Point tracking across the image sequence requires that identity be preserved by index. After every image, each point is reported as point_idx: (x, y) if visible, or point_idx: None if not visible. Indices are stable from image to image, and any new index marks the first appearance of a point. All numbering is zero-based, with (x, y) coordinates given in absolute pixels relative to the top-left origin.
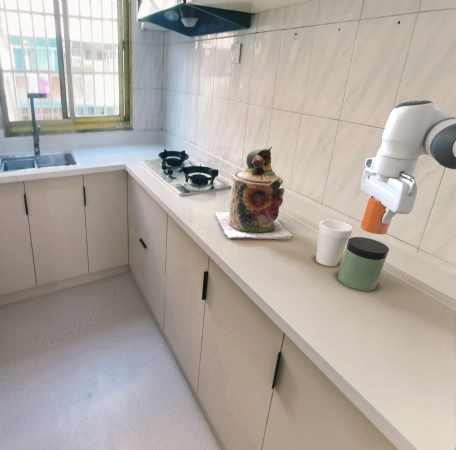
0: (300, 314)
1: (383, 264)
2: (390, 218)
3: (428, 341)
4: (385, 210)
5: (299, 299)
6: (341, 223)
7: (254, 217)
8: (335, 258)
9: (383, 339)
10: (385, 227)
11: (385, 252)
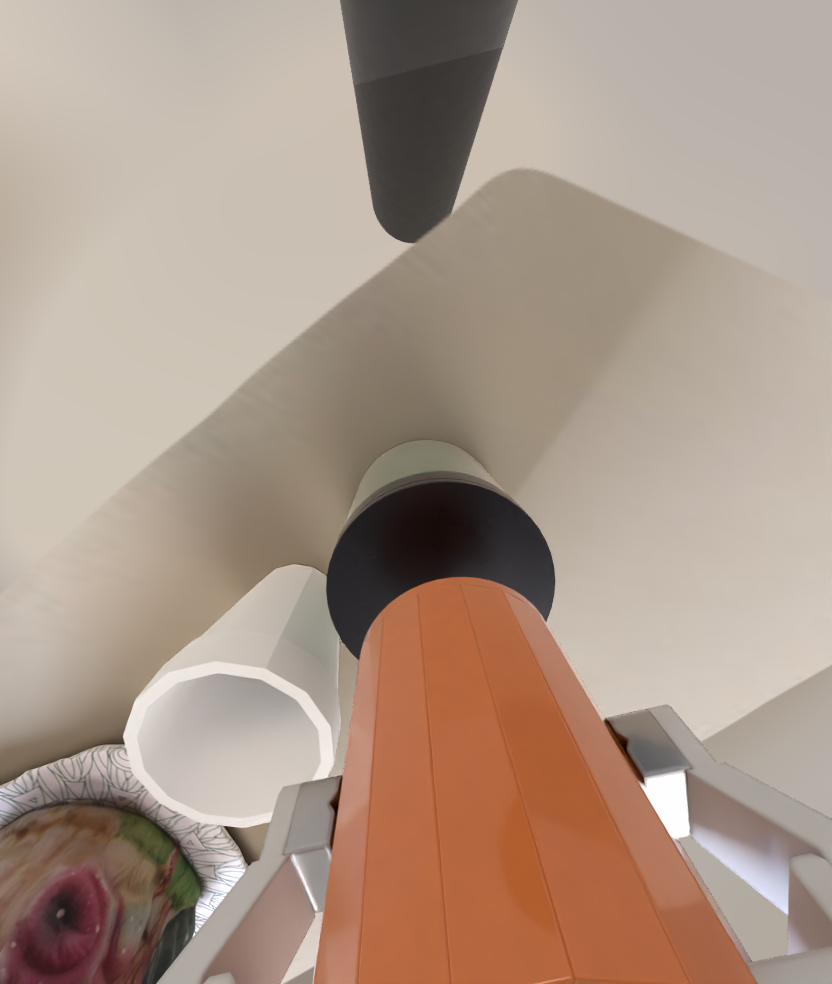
0: (697, 693)
1: (480, 473)
2: (713, 762)
3: (762, 346)
4: (787, 950)
5: (619, 695)
6: (151, 706)
7: (151, 959)
8: None
9: (774, 488)
10: (564, 653)
11: (527, 516)
